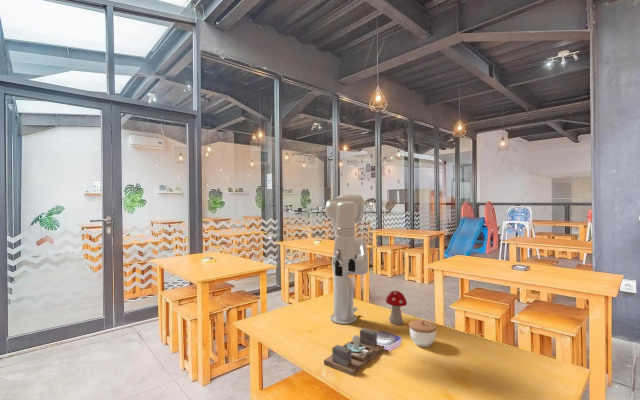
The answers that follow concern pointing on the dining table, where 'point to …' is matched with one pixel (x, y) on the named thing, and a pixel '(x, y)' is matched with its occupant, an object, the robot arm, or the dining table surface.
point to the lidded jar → (422, 332)
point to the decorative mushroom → (396, 306)
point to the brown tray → (351, 362)
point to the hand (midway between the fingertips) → (345, 273)
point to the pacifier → (355, 346)
